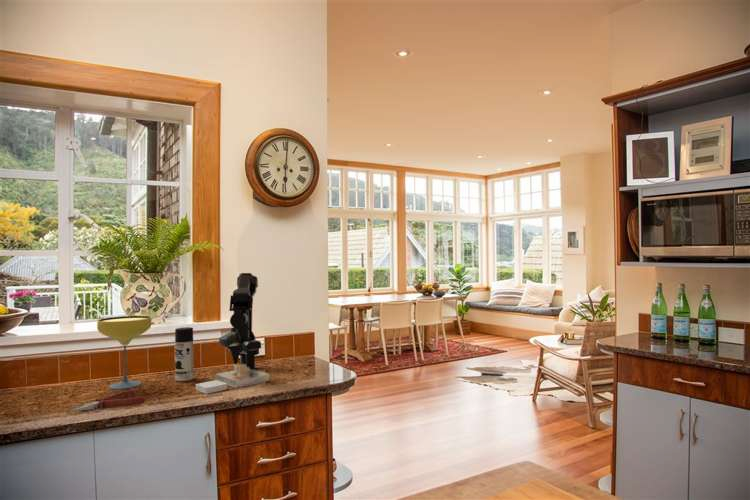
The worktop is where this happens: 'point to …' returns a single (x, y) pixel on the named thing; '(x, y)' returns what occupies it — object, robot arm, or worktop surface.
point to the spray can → (184, 354)
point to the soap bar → (211, 386)
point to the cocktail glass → (124, 338)
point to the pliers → (112, 401)
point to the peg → (241, 370)
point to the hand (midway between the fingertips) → (241, 365)
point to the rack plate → (242, 378)
